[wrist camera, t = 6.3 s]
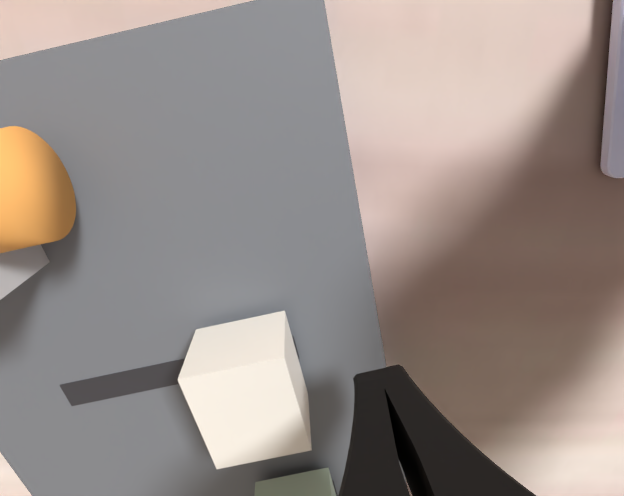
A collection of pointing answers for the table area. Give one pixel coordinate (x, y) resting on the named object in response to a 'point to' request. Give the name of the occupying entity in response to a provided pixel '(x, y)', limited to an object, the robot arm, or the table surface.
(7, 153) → the orange button
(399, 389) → the robot arm
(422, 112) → the table surface
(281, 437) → the off-white slider
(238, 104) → the control panel
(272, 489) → the sage slider
